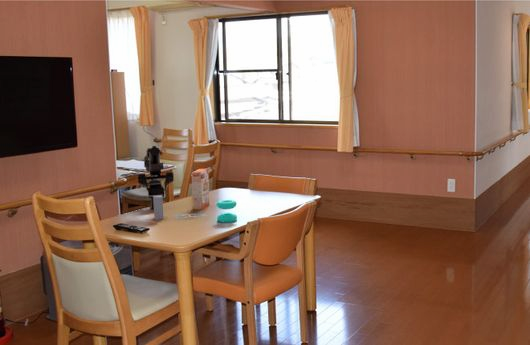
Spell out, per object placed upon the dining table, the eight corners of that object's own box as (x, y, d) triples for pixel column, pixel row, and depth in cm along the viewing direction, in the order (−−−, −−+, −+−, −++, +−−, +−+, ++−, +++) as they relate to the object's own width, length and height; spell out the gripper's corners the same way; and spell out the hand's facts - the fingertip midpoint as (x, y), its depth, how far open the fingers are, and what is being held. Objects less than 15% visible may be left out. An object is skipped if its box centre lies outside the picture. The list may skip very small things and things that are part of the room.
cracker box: (203, 210, 350) (201, 172, 347) (192, 209, 351) (190, 172, 348) (210, 204, 364) (208, 168, 361) (200, 204, 365) (198, 168, 362)
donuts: (224, 198, 327) (240, 200, 322) (224, 217, 329) (241, 219, 323) (212, 202, 319) (228, 203, 314) (213, 222, 320) (229, 223, 315)
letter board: (172, 215, 338) (172, 214, 338) (202, 212, 343) (202, 212, 343) (176, 220, 327) (176, 219, 327) (207, 217, 331) (207, 216, 331)
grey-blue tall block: (154, 218, 332) (153, 195, 331) (163, 218, 333) (161, 195, 331) (154, 220, 328) (153, 197, 326) (163, 219, 329) (162, 196, 327)
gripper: (136, 158, 340) (138, 182, 330) (172, 156, 343) (174, 180, 334) (137, 171, 348) (139, 195, 339) (172, 169, 352) (174, 192, 343)
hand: (156, 190), depth 339 cm, fingers open, 9 cm apart
